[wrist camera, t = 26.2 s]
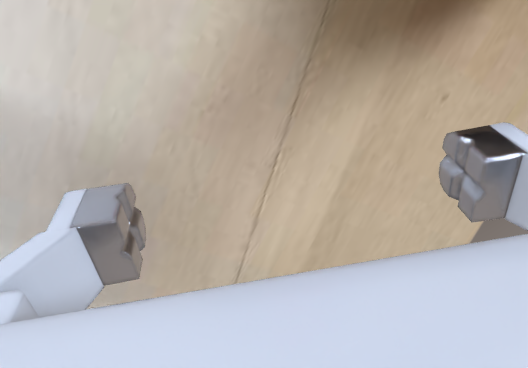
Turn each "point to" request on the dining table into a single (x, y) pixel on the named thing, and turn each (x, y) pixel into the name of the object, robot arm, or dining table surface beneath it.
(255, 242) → the dining table surface
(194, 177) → the dining table surface
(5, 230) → the dining table surface
